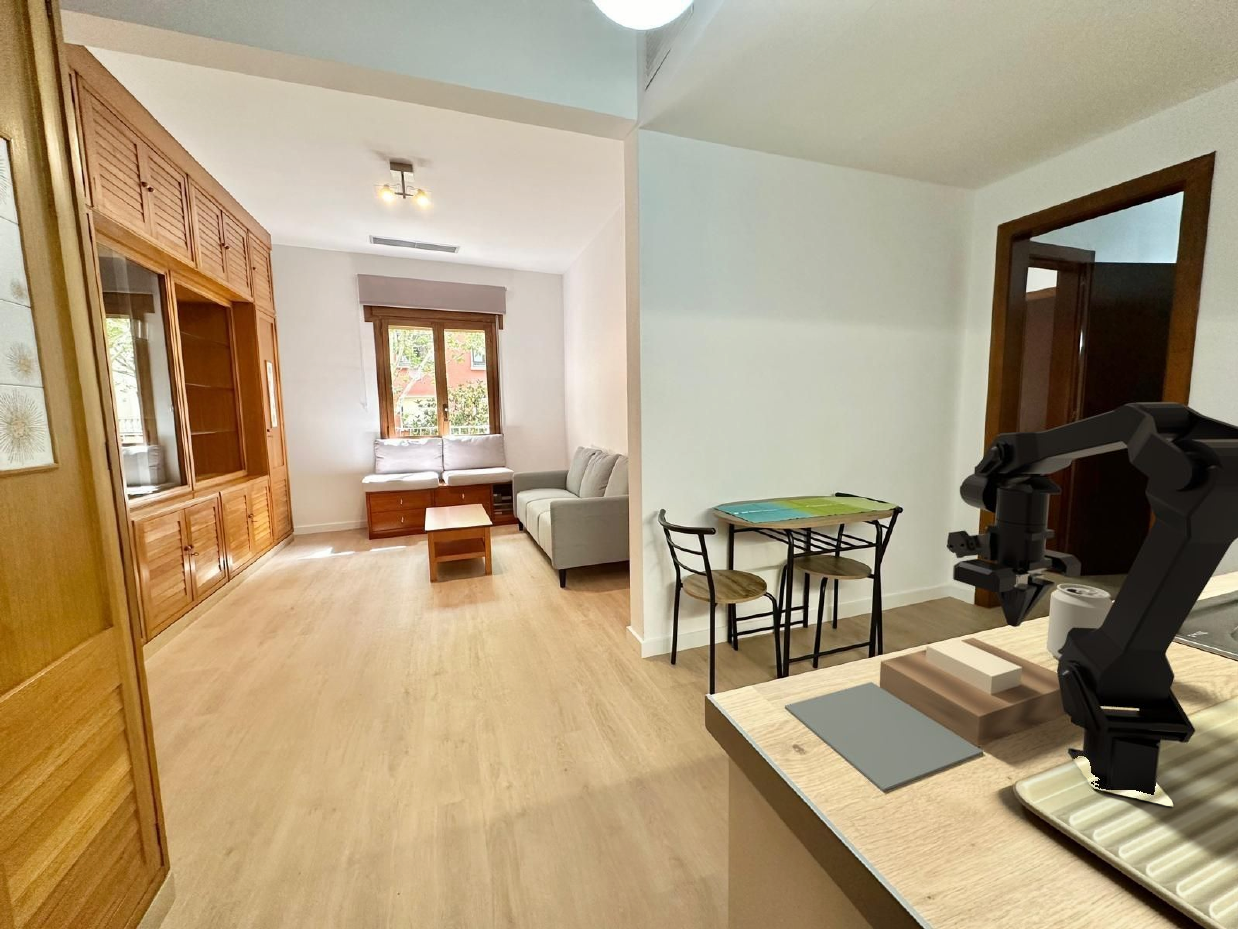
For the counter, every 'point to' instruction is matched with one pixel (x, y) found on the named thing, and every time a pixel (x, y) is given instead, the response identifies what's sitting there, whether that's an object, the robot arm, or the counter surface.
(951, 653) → the tile
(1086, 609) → the can
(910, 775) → the mat
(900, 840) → the counter surface
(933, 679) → the block
